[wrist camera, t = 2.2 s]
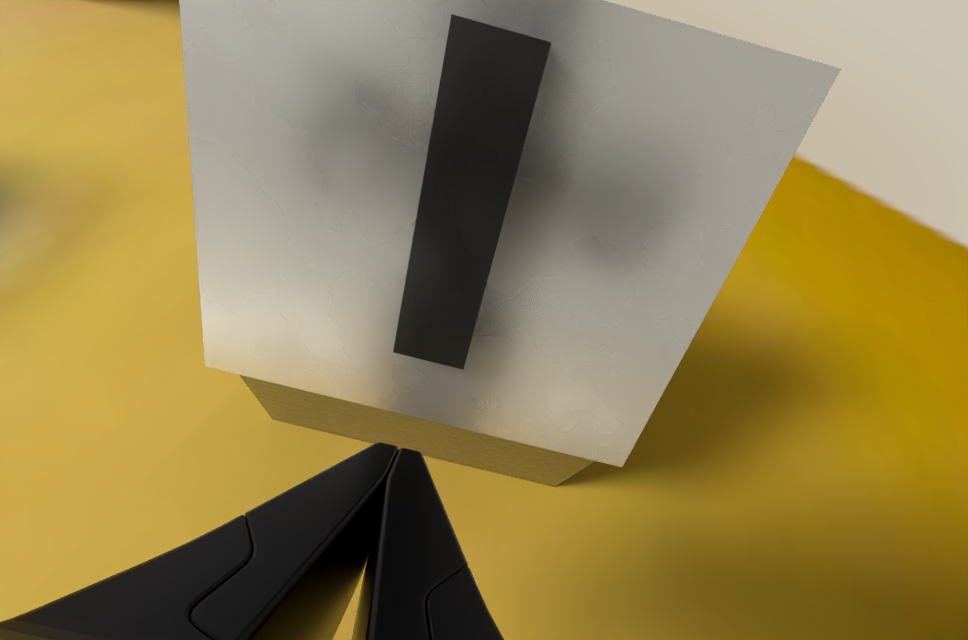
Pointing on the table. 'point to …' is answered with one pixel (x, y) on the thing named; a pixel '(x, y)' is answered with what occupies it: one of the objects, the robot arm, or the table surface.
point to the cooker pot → (414, 434)
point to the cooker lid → (477, 201)
